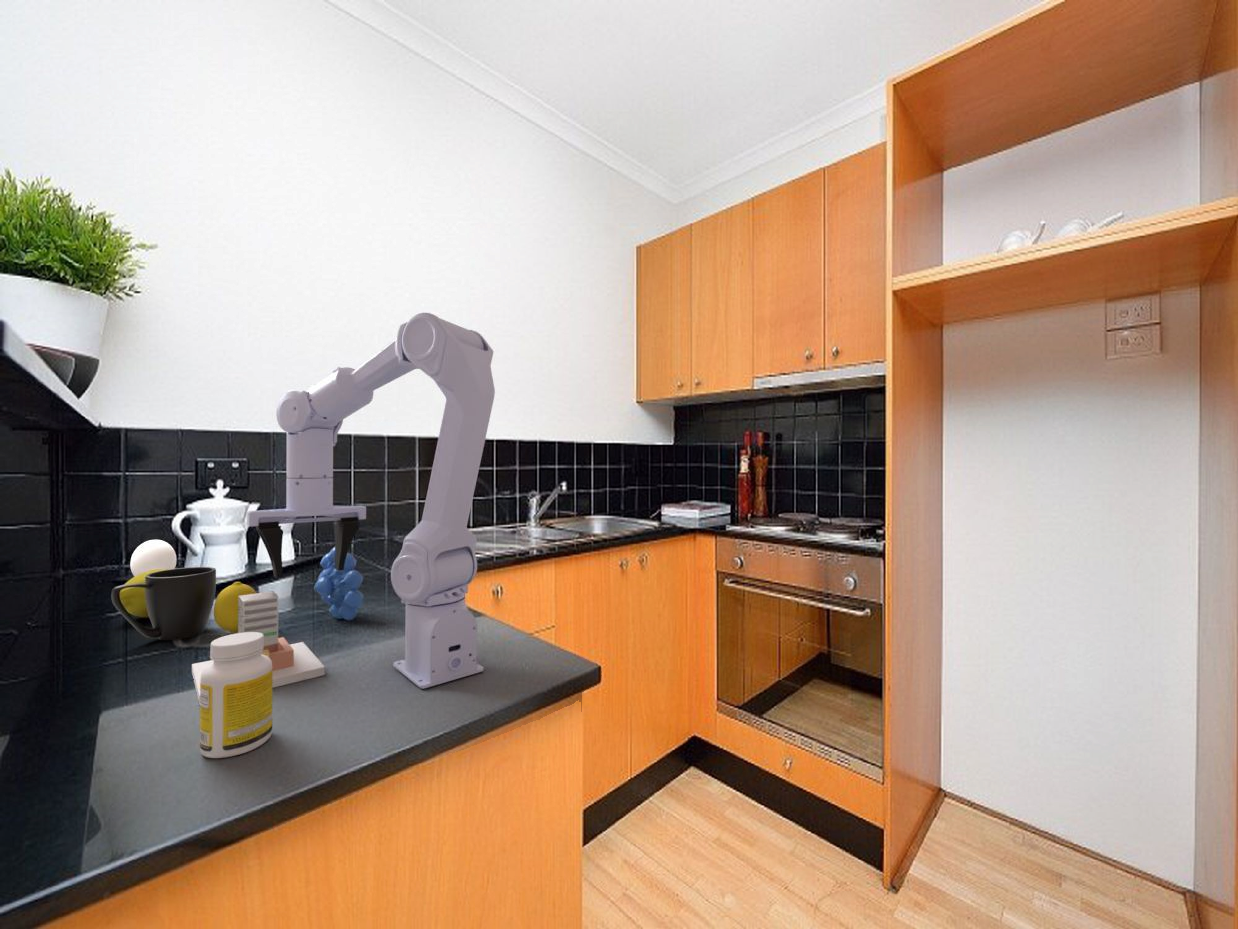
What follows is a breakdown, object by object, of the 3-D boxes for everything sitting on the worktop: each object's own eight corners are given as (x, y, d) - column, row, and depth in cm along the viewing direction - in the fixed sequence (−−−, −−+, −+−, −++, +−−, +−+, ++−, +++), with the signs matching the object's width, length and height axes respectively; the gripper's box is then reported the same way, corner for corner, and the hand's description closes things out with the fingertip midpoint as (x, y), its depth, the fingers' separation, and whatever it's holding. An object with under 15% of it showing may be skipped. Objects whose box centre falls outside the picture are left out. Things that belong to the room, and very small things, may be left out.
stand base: (324, 674, 63) (324, 645, 63) (199, 705, 55) (199, 671, 55) (302, 649, 72) (302, 623, 72) (191, 672, 64) (191, 643, 64)
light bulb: (133, 594, 102) (133, 539, 102) (177, 589, 106) (178, 536, 106) (127, 602, 96) (127, 543, 96) (174, 596, 100) (175, 540, 100)
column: (278, 643, 63) (278, 596, 63) (242, 650, 61) (242, 602, 61) (272, 636, 66) (273, 591, 66) (238, 642, 64) (238, 595, 64)
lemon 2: (234, 641, 75) (235, 586, 75) (203, 638, 76) (204, 585, 76) (267, 629, 80) (268, 578, 80) (238, 627, 82) (238, 577, 82)
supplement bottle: (285, 728, 50) (285, 629, 50) (246, 760, 45) (247, 648, 45) (228, 729, 50) (229, 629, 50) (183, 761, 45) (184, 649, 45)
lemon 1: (183, 606, 94) (184, 562, 94) (204, 612, 90) (204, 566, 90) (102, 622, 84) (103, 573, 84) (121, 629, 80) (122, 578, 80)
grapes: (296, 619, 86) (296, 547, 86) (337, 609, 92) (337, 542, 92) (331, 632, 80) (331, 554, 80) (373, 621, 85) (373, 548, 85)
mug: (100, 645, 73) (100, 578, 73) (201, 622, 84) (201, 564, 84) (122, 656, 69) (123, 585, 69) (225, 631, 80) (226, 569, 80)
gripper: (356, 476, 81) (355, 562, 81) (243, 478, 72) (243, 575, 72) (370, 477, 76) (370, 569, 76) (251, 479, 66) (251, 584, 66)
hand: (309, 572), depth 74 cm, fingers open, 7 cm apart
